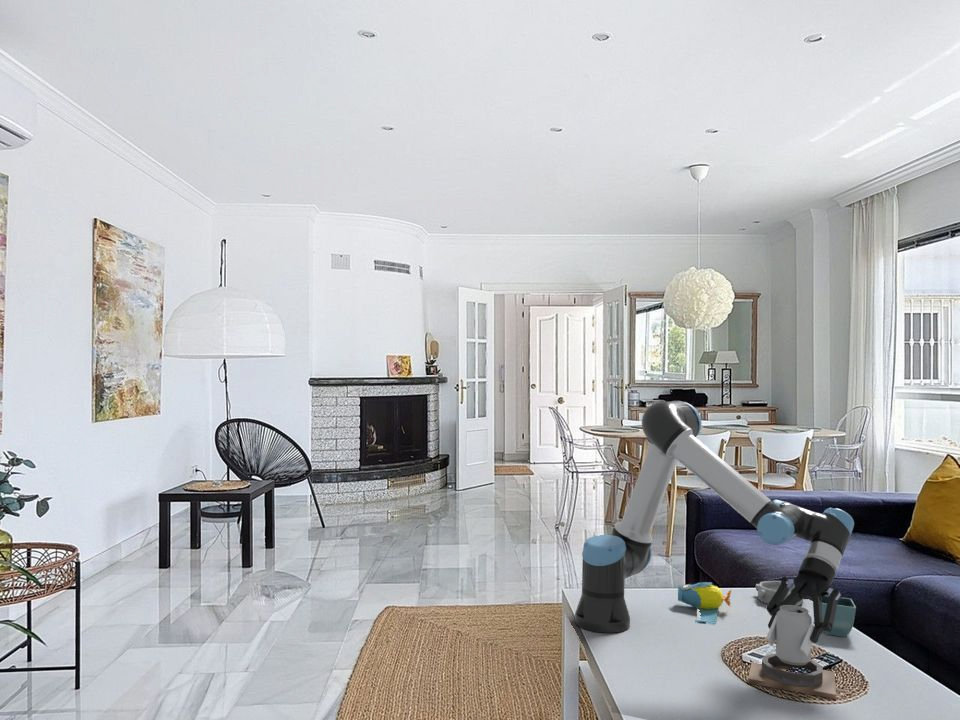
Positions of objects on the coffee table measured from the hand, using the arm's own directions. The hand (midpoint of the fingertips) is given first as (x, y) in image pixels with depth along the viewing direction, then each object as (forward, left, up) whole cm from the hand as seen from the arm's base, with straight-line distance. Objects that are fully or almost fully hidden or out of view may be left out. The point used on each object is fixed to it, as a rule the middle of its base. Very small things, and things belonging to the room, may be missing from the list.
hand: (786, 647), depth 169 cm
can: (+1, +3, -4) cm, 5 cm away
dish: (-4, +67, -9) cm, 68 cm away
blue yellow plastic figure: (-24, +47, -9) cm, 54 cm away
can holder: (+1, +3, -8) cm, 9 cm away
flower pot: (+11, +43, -8) cm, 45 cm away
